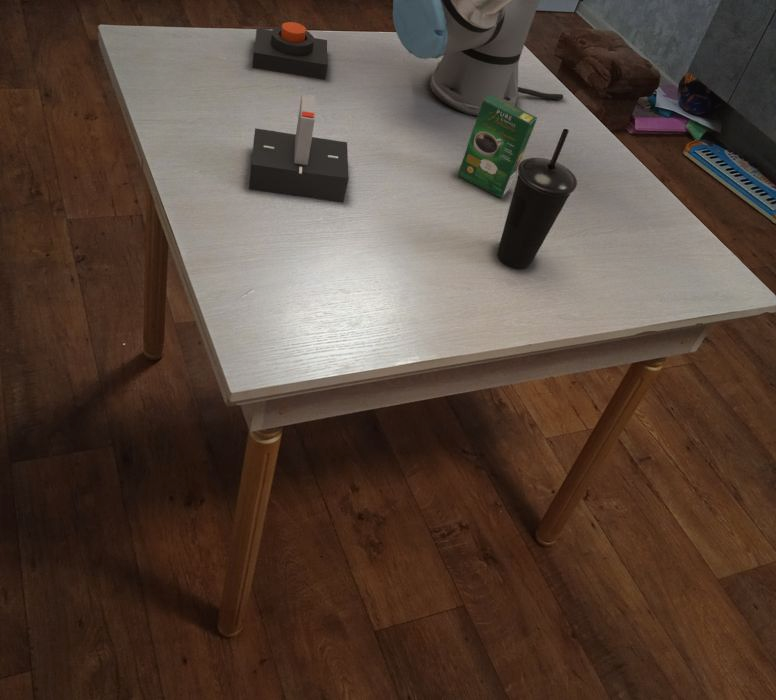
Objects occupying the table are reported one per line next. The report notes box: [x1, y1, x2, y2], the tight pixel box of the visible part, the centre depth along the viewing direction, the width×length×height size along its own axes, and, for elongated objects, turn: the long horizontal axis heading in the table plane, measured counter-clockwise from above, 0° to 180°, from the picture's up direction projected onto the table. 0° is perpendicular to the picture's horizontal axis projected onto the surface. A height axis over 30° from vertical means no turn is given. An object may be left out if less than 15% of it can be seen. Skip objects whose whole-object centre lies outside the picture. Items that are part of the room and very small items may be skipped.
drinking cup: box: [496, 128, 578, 270], centre depth 106 cm, size 8×8×20 cm
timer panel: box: [248, 127, 350, 203], centre depth 114 cm, size 13×10×4 cm
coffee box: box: [457, 94, 538, 199], centre depth 120 cm, size 8×3×13 cm, turn 58°
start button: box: [281, 21, 307, 43], centre depth 136 cm, size 4×4×2 cm
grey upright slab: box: [294, 94, 316, 165], centre depth 111 cm, size 6×2×7 cm, turn 3°
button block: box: [251, 25, 329, 80], centre depth 138 cm, size 12×9×4 cm
